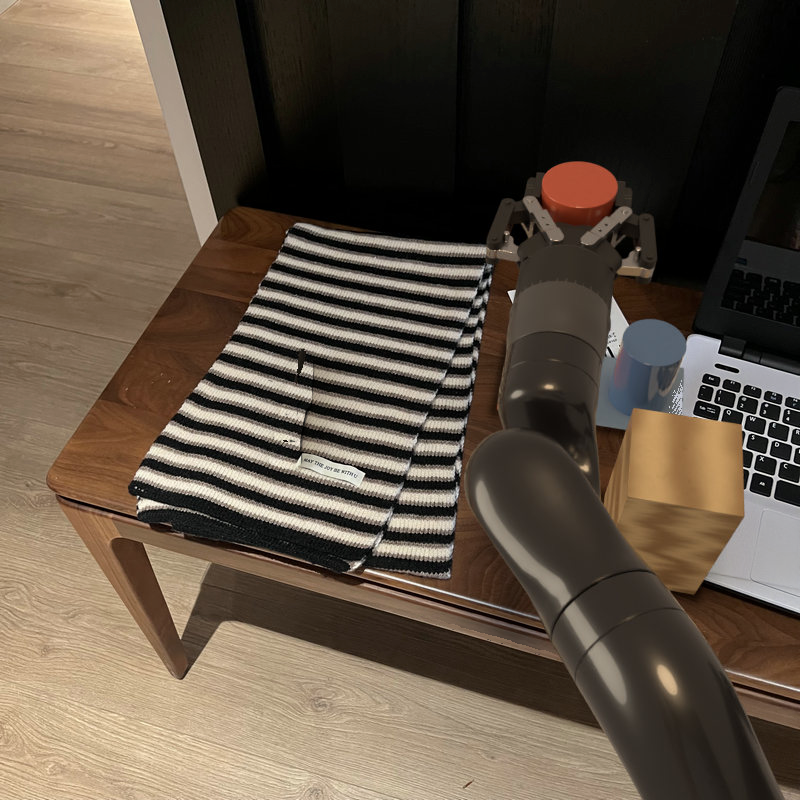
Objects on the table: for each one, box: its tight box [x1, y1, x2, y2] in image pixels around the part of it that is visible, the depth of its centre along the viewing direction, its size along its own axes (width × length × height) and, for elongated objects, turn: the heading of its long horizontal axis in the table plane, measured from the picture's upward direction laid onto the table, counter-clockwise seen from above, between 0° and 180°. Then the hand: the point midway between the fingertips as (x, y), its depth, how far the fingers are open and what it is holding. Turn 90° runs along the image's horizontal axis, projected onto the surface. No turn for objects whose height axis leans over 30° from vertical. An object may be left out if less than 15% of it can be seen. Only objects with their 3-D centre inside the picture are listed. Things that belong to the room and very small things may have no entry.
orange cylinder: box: [540, 161, 618, 228], centre depth 70 cm, size 6×6×9 cm
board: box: [496, 356, 685, 431], centre depth 88 cm, size 20×10×1 cm, turn 77°
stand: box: [603, 408, 746, 596], centre depth 70 cm, size 9×9×16 cm
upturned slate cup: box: [608, 318, 688, 416], centre depth 83 cm, size 6×6×9 cm
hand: (579, 185), depth 69 cm, fingers closed on orange cylinder, 6 cm apart
